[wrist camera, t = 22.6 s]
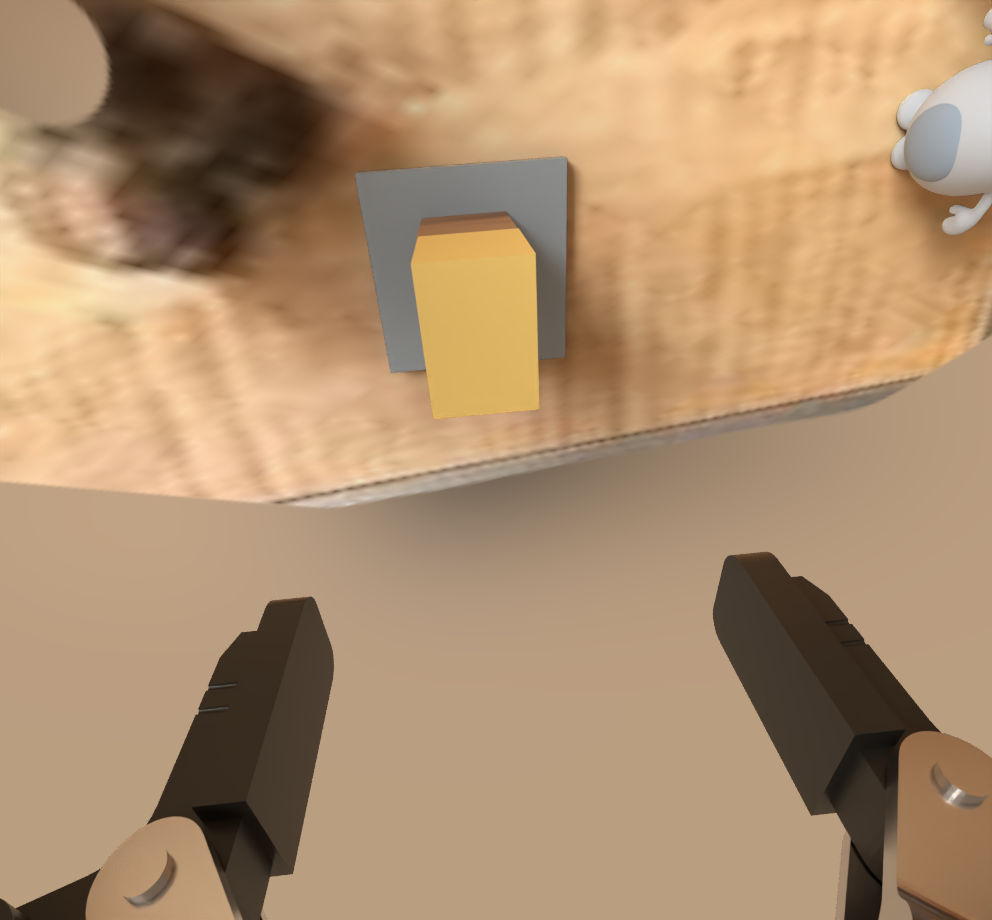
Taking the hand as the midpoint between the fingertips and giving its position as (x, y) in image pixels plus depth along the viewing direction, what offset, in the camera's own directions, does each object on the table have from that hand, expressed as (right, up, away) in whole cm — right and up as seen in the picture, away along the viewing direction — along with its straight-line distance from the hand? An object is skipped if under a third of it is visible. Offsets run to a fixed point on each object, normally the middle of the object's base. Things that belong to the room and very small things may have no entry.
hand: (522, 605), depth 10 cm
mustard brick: (-2, +11, +18) cm, 21 cm away
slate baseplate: (-2, +15, +24) cm, 28 cm away
